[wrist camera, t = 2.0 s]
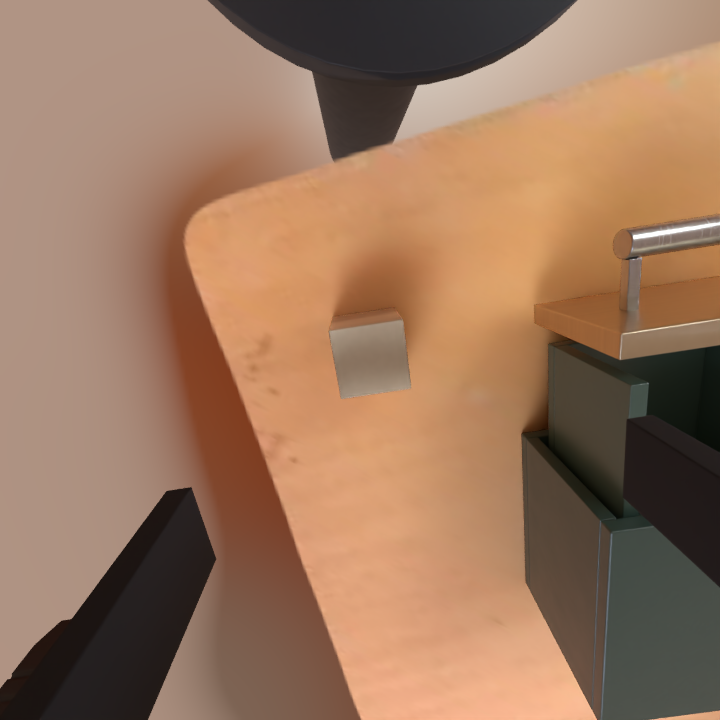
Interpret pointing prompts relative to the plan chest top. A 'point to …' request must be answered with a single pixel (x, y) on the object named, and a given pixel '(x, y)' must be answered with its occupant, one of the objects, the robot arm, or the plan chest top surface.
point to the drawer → (634, 359)
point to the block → (370, 353)
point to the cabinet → (618, 598)
